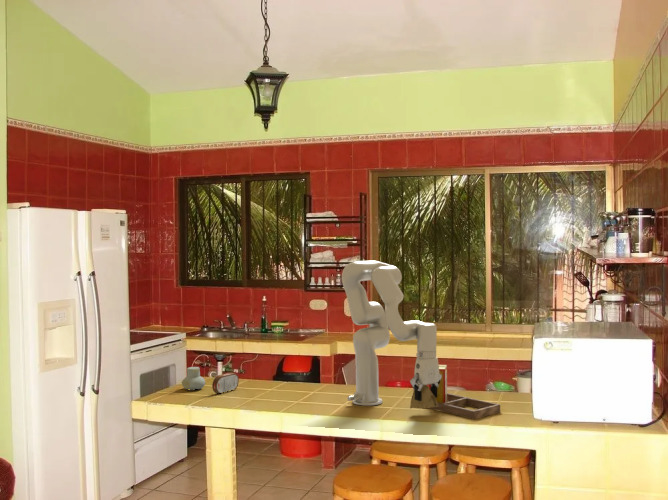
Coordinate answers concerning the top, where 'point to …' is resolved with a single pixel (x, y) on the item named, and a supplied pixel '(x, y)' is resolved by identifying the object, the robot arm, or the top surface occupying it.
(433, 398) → the rock
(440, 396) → the baking soda box
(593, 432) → the top surface
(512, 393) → the top surface
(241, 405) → the top surface
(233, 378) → the tin
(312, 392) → the top surface
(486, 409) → the divided brown tray
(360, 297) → the robot arm
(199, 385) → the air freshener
